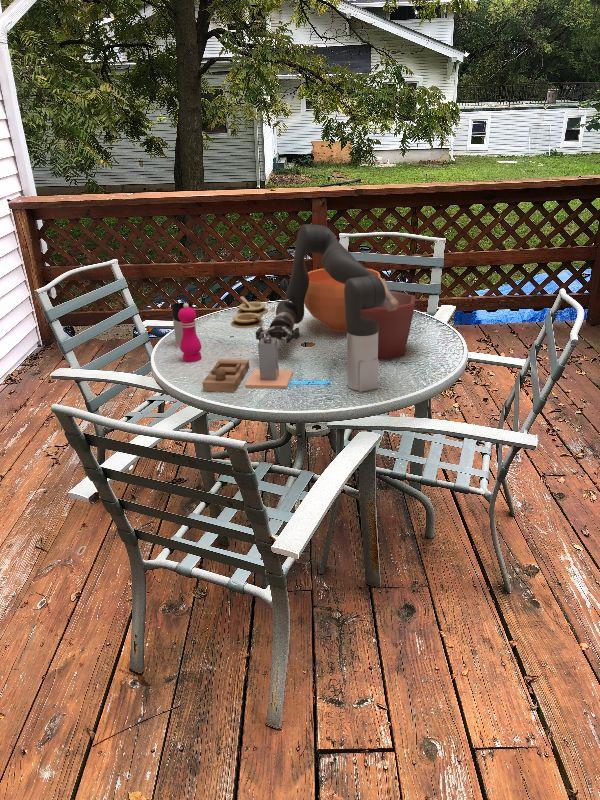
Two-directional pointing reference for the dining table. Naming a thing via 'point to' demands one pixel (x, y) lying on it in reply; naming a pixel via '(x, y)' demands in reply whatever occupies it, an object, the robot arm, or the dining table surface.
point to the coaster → (279, 383)
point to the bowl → (327, 299)
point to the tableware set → (249, 314)
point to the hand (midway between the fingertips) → (274, 340)
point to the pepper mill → (189, 335)
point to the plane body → (226, 375)
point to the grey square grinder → (268, 358)
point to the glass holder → (178, 321)
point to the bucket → (392, 322)
